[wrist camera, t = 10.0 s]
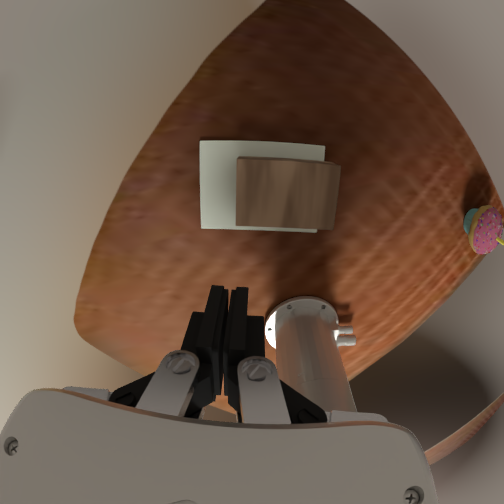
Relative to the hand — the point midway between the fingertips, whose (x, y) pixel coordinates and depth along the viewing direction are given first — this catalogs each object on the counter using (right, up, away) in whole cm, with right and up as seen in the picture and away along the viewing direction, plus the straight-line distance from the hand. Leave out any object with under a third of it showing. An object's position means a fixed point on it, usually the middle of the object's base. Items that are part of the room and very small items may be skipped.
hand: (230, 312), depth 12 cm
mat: (+2, +11, +23) cm, 25 cm away
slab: (-1, +10, +20) cm, 23 cm away
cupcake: (+40, +8, +24) cm, 47 cm away
